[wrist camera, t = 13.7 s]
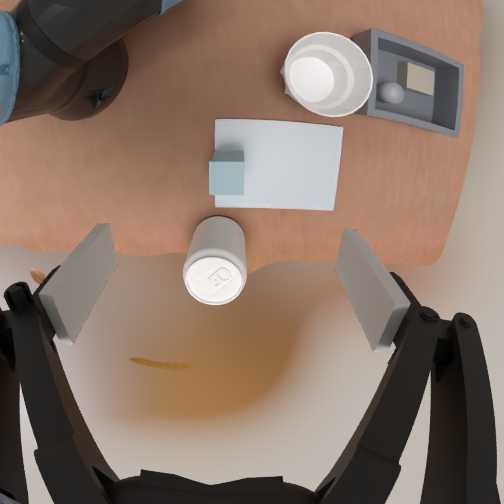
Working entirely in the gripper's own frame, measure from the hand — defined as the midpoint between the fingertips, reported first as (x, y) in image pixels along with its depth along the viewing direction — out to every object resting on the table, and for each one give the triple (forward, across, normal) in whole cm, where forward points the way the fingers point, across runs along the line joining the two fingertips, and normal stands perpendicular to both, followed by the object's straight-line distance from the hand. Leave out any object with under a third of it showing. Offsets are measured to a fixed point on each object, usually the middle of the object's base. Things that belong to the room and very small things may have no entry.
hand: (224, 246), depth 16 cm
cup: (+27, +10, +12) cm, 31 cm away
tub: (+27, +24, +14) cm, 39 cm away
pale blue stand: (+27, +6, -1) cm, 28 cm away
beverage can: (+27, -2, -13) cm, 30 cm away
